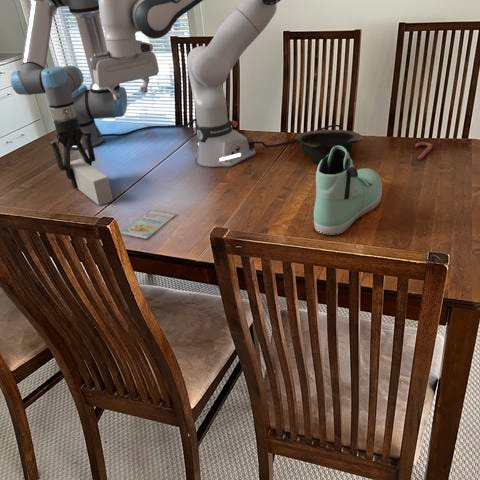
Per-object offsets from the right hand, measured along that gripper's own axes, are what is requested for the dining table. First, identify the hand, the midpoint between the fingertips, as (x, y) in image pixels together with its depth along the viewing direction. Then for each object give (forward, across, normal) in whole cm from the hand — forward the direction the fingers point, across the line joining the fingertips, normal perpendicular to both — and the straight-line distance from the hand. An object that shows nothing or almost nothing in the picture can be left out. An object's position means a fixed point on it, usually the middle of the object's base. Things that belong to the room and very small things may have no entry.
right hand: (131, 95), depth 148 cm
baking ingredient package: (+30, -14, -26) cm, 42 cm away
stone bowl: (+30, +59, -27) cm, 72 cm away
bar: (+30, -17, +8) cm, 35 cm away
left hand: (+29, -17, +16) cm, 37 cm away
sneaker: (+30, +33, -60) cm, 75 cm away
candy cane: (+30, +83, -50) cm, 102 cm away
